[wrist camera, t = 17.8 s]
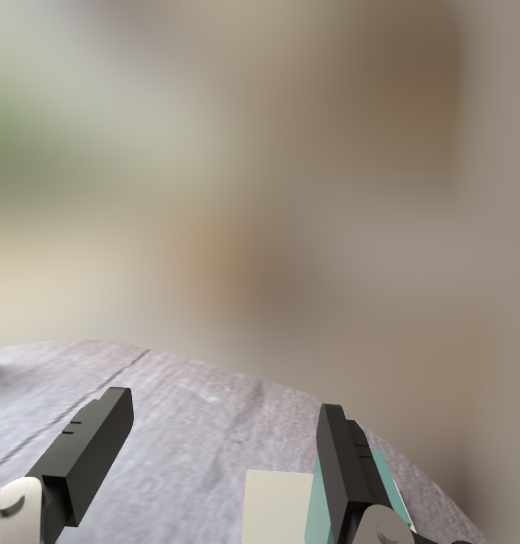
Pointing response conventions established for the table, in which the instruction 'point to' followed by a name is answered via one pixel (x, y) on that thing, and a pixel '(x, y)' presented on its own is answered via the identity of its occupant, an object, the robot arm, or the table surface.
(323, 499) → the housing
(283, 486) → the stub base
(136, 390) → the table surface
